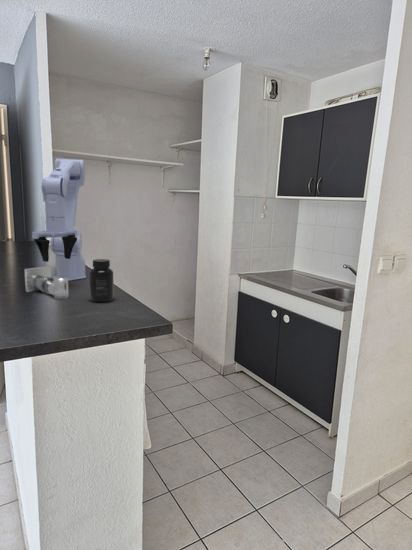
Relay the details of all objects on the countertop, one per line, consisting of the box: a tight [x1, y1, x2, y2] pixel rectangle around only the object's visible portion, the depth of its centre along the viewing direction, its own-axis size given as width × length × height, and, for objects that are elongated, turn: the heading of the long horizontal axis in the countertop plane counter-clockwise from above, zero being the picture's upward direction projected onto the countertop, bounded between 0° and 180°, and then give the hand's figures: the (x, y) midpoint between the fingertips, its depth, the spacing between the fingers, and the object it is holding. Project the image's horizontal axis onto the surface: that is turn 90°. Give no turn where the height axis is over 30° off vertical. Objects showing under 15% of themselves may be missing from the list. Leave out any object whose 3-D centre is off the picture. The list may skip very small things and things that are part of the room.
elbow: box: [44, 276, 69, 300], centre depth 113 cm, size 8×4×6 cm, turn 51°
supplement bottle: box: [88, 258, 115, 303], centre depth 111 cm, size 7×7×12 cm
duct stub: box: [24, 265, 54, 294], centre depth 117 cm, size 6×8×7 cm
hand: (56, 259), depth 120 cm, fingers open, 7 cm apart
